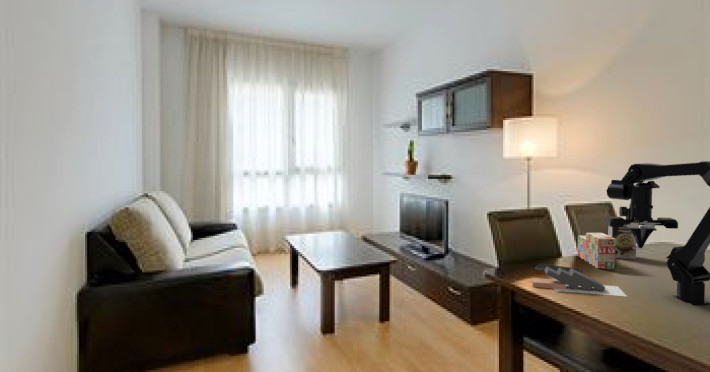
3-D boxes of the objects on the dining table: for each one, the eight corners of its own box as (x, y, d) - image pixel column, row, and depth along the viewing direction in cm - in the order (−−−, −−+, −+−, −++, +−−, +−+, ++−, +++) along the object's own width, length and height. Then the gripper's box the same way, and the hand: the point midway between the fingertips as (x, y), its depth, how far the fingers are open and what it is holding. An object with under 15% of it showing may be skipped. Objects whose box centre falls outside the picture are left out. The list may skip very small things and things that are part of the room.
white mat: (617, 288, 132) (617, 286, 132) (627, 298, 122) (627, 296, 122) (550, 283, 138) (550, 281, 138) (555, 292, 129) (555, 290, 129)
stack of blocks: (577, 256, 176) (577, 228, 175) (592, 256, 175) (592, 228, 174) (597, 269, 155) (598, 238, 154) (615, 269, 154) (616, 238, 153)
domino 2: (588, 282, 132) (559, 267, 135) (592, 286, 128) (561, 271, 130) (586, 286, 133) (556, 271, 135) (589, 291, 128) (558, 275, 131)
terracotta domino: (563, 280, 135) (531, 277, 138) (566, 284, 130) (533, 282, 133) (563, 284, 135) (531, 282, 138) (566, 289, 130) (533, 286, 133)
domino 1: (575, 280, 134) (546, 266, 136) (578, 285, 129) (548, 270, 132) (573, 284, 134) (544, 270, 137) (576, 289, 129) (546, 274, 132)
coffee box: (611, 258, 170) (612, 220, 169) (607, 254, 176) (607, 218, 175) (636, 259, 167) (637, 221, 166) (631, 255, 173) (631, 219, 172)
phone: (576, 273, 146) (534, 267, 156) (576, 276, 146) (534, 270, 156) (582, 269, 152) (540, 263, 162) (582, 272, 152) (540, 265, 162)
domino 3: (601, 283, 131) (571, 268, 134) (605, 287, 126) (573, 272, 129) (598, 287, 131) (568, 272, 134) (602, 292, 127) (571, 276, 129)
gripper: (665, 199, 136) (663, 244, 137) (602, 198, 142) (601, 241, 143) (679, 202, 125) (678, 251, 126) (611, 202, 131) (610, 248, 132)
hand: (640, 248), depth 132 cm, fingers closed
